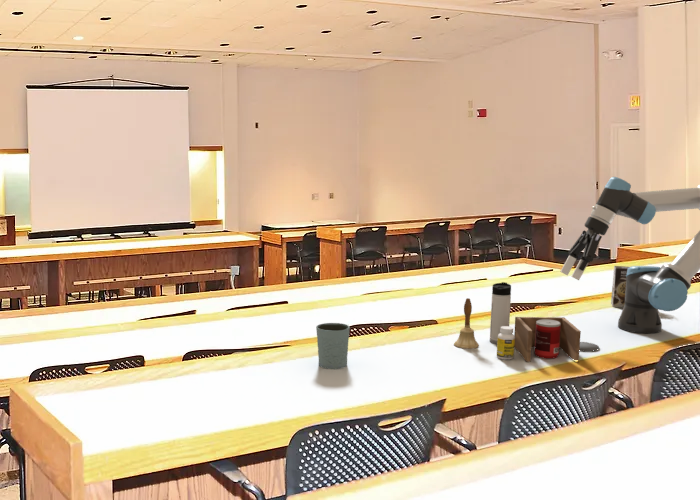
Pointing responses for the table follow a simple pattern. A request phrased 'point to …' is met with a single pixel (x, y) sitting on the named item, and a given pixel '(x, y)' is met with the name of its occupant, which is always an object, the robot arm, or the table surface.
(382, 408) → the table surface
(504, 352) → the supplement bottle
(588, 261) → the robot arm
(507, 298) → the travel mug
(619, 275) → the coffee box
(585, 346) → the slate coaster
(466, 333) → the hand bell
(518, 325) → the walnut u-shaped bracket
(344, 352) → the grey-green cup
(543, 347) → the canned food
